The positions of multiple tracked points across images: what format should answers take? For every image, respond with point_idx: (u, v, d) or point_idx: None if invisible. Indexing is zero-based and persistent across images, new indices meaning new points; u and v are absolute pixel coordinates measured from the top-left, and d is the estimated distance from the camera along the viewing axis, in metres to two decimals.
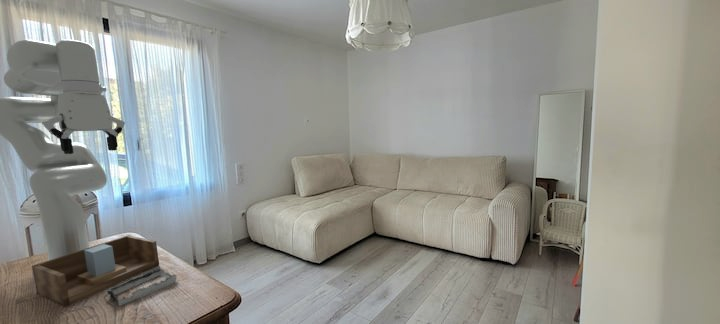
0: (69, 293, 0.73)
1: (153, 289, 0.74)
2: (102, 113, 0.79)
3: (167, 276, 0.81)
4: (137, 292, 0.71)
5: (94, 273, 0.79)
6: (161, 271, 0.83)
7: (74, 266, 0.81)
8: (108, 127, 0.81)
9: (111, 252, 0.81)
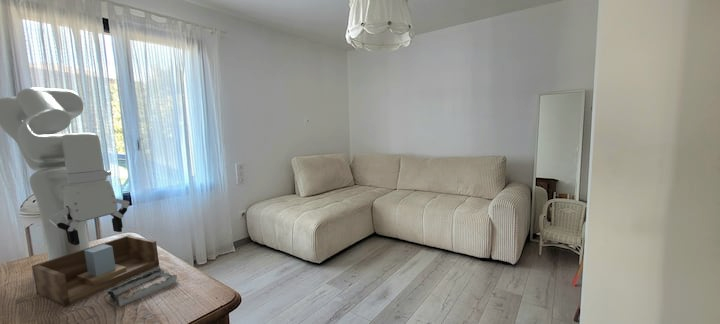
0: (69, 293, 0.73)
1: (153, 290, 0.74)
2: (107, 199, 0.80)
3: (167, 276, 0.81)
4: (138, 293, 0.71)
5: (94, 273, 0.79)
6: (161, 271, 0.82)
7: (74, 266, 0.81)
8: (113, 211, 0.82)
9: (111, 252, 0.81)
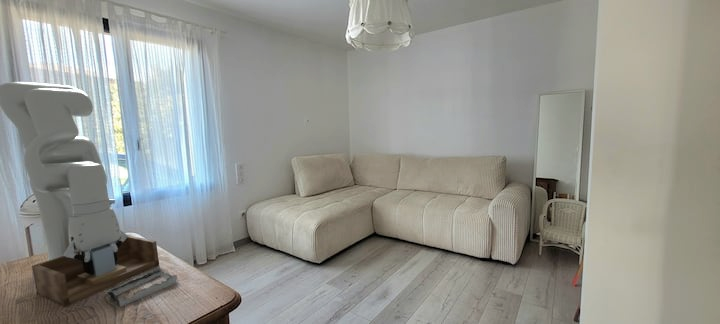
0: (69, 293, 0.73)
1: (154, 290, 0.74)
2: (111, 227, 0.81)
3: (167, 277, 0.80)
4: (138, 293, 0.71)
5: (94, 273, 0.79)
6: (161, 272, 0.82)
7: (74, 266, 0.81)
8: (117, 239, 0.83)
9: (111, 252, 0.81)
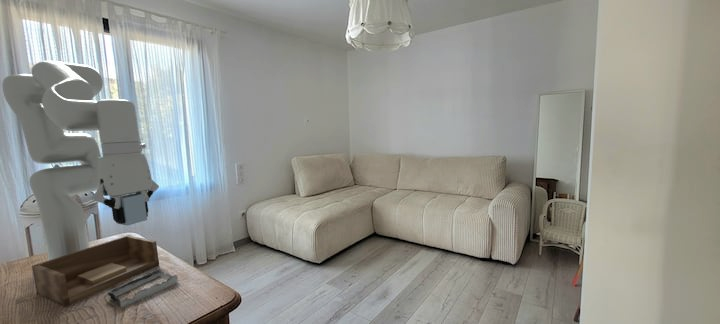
0: (69, 293, 0.73)
1: (155, 290, 0.74)
2: (142, 173, 0.73)
3: (167, 277, 0.80)
4: (139, 293, 0.71)
5: (125, 222, 0.71)
6: (161, 272, 0.82)
7: (74, 266, 0.81)
8: (148, 187, 0.75)
9: (142, 201, 0.73)
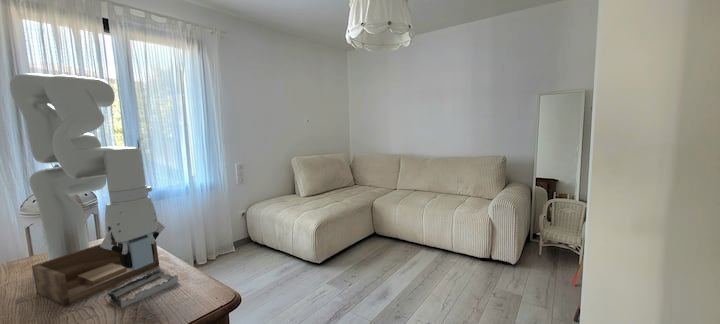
0: (69, 293, 0.73)
1: (155, 291, 0.73)
2: (149, 217, 0.75)
3: (168, 277, 0.80)
4: (140, 294, 0.71)
5: (132, 266, 0.72)
6: (161, 273, 0.82)
7: (74, 266, 0.81)
8: (154, 230, 0.76)
9: (149, 244, 0.75)
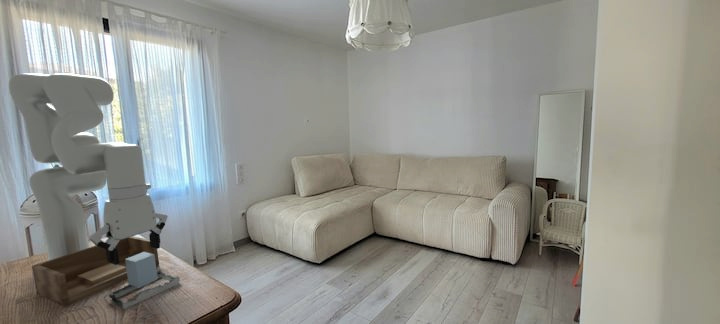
0: (69, 293, 0.73)
1: (157, 292, 0.73)
2: (147, 214, 0.75)
3: (169, 278, 0.80)
4: (142, 295, 0.70)
5: (136, 284, 0.72)
6: (162, 274, 0.81)
7: (74, 266, 0.81)
8: (152, 227, 0.76)
9: (153, 261, 0.75)
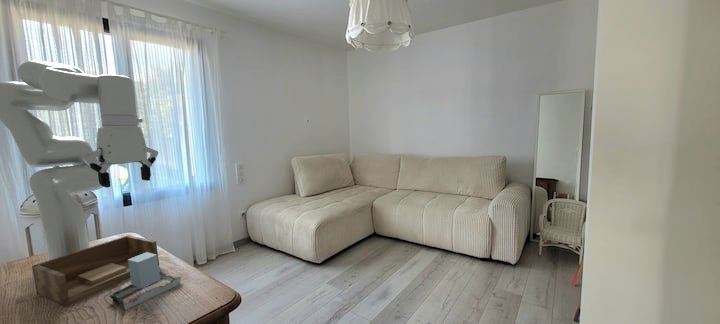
0: (69, 293, 0.73)
1: (158, 292, 0.73)
2: (138, 145, 0.79)
3: (170, 279, 0.79)
4: (143, 296, 0.70)
5: (139, 285, 0.72)
6: (162, 274, 0.81)
7: (74, 266, 0.81)
8: (143, 158, 0.81)
9: (156, 261, 0.75)
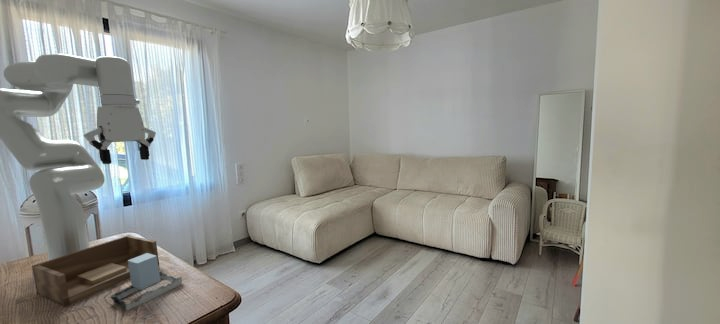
0: (69, 293, 0.73)
1: (160, 293, 0.73)
2: (136, 125, 0.83)
3: (171, 279, 0.79)
4: (145, 296, 0.70)
5: (138, 286, 0.71)
6: (163, 275, 0.81)
7: (74, 266, 0.81)
8: (141, 138, 0.85)
9: (156, 262, 0.74)
